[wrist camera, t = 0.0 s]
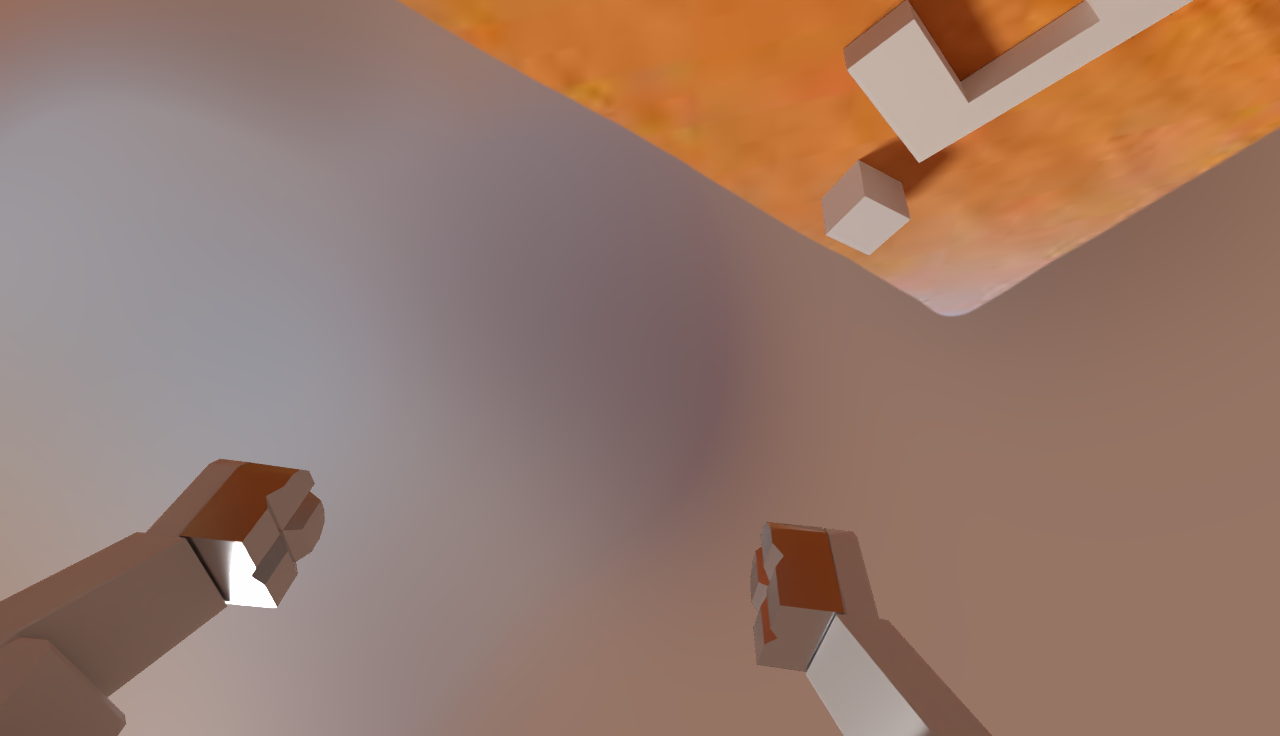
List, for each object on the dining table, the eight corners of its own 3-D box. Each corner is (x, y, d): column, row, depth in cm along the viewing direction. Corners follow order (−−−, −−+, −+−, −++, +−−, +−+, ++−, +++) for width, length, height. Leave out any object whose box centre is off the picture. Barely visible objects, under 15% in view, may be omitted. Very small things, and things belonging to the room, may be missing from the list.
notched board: (1139, -185, 39) (1160, -169, 37) (1187, -30, 46) (1207, -9, 44) (843, 49, 53) (846, 69, 51) (913, 141, 60) (919, 163, 58)
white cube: (862, 218, 69) (868, 255, 66) (821, 198, 67) (825, 235, 64) (902, 181, 64) (910, 219, 61) (858, 158, 63) (865, 196, 59)
